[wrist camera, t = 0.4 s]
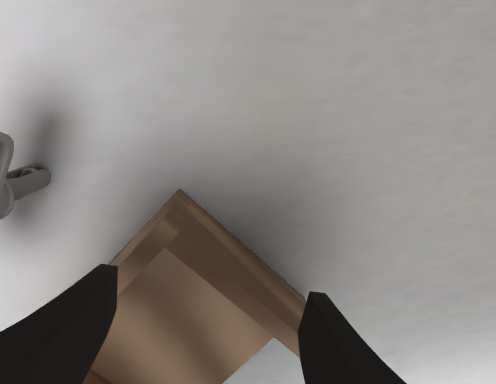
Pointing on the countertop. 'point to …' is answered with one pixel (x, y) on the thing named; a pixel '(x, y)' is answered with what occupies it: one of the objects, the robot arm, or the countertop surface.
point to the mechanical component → (17, 178)
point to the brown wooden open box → (192, 303)
